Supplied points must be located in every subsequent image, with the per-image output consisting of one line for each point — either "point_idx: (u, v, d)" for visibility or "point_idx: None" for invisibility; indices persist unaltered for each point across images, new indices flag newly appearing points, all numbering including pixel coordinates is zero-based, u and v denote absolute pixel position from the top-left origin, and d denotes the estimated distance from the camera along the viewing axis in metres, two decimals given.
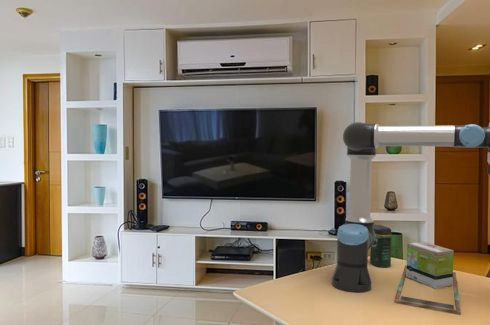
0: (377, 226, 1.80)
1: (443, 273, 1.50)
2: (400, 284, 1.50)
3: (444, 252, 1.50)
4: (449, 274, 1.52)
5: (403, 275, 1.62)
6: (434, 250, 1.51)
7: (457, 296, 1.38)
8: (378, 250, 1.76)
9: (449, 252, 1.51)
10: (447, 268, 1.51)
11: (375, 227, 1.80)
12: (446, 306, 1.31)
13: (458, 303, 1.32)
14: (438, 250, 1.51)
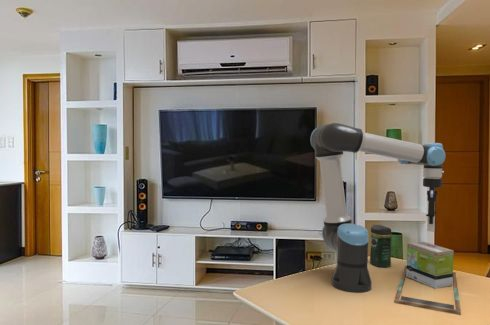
0: (377, 226, 1.80)
1: (443, 273, 1.50)
2: (400, 284, 1.50)
3: (444, 252, 1.50)
4: (449, 274, 1.52)
5: (403, 275, 1.62)
6: (434, 250, 1.51)
7: (457, 296, 1.38)
8: (378, 250, 1.76)
9: (449, 252, 1.51)
10: (447, 268, 1.51)
11: (375, 227, 1.80)
12: (446, 306, 1.31)
13: (458, 303, 1.32)
14: (438, 250, 1.51)
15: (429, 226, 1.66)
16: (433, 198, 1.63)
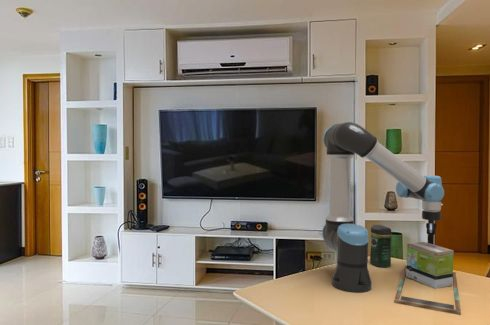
0: (377, 226, 1.80)
1: (443, 273, 1.50)
2: (400, 284, 1.50)
3: (444, 252, 1.50)
4: (449, 274, 1.52)
5: (403, 275, 1.62)
6: (434, 250, 1.51)
7: (457, 296, 1.38)
8: (378, 250, 1.76)
9: (449, 252, 1.51)
10: (447, 268, 1.51)
11: (375, 227, 1.80)
12: (446, 306, 1.31)
13: (458, 303, 1.32)
14: (438, 250, 1.51)
15: None
16: (432, 233, 1.65)
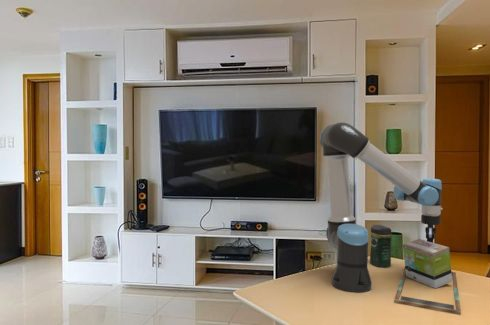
0: (377, 226, 1.80)
1: (441, 271, 1.50)
2: (400, 284, 1.50)
3: (439, 251, 1.49)
4: (447, 271, 1.51)
5: (403, 275, 1.62)
6: (429, 250, 1.50)
7: (457, 296, 1.38)
8: (378, 250, 1.76)
9: (445, 250, 1.50)
10: (444, 266, 1.50)
11: (375, 227, 1.80)
12: (446, 306, 1.31)
13: (458, 303, 1.32)
14: (433, 249, 1.50)
15: None
16: (431, 238, 1.60)
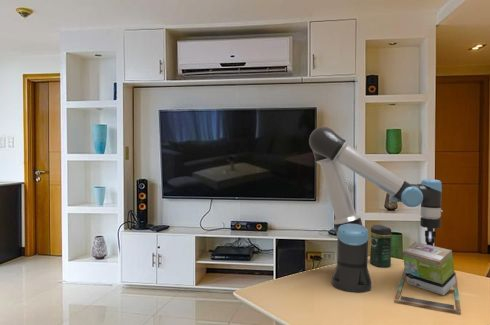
0: (377, 226, 1.80)
1: (447, 277, 1.42)
2: (400, 284, 1.50)
3: (445, 257, 1.41)
4: (452, 274, 1.44)
5: (403, 275, 1.62)
6: (434, 257, 1.41)
7: (457, 296, 1.38)
8: (378, 250, 1.76)
9: (448, 254, 1.42)
10: (449, 270, 1.43)
11: (375, 227, 1.80)
12: (446, 306, 1.31)
13: (458, 303, 1.32)
14: (438, 255, 1.42)
15: None
16: (431, 243, 1.51)
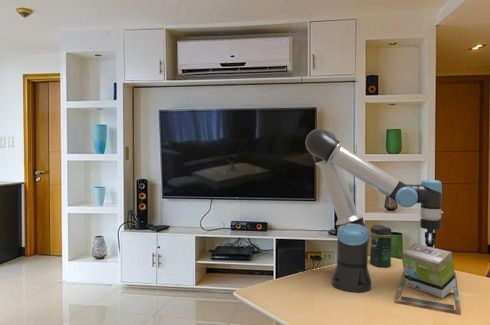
0: (377, 226, 1.80)
1: (447, 279, 1.39)
2: (400, 284, 1.50)
3: (444, 259, 1.38)
4: (452, 276, 1.42)
5: (403, 275, 1.62)
6: (433, 259, 1.39)
7: (457, 296, 1.38)
8: (378, 250, 1.76)
9: (448, 256, 1.40)
10: (449, 272, 1.40)
11: (375, 227, 1.80)
12: (446, 306, 1.31)
13: (458, 303, 1.32)
14: (437, 257, 1.39)
15: None
16: (431, 244, 1.49)
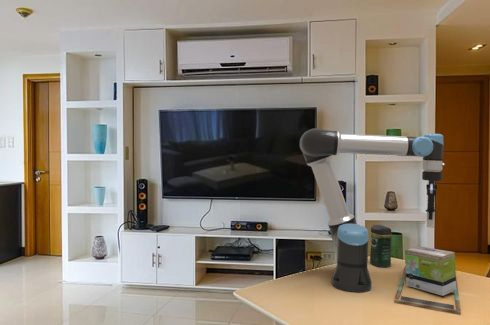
0: (377, 226, 1.80)
1: (448, 277, 1.41)
2: (400, 284, 1.50)
3: (447, 255, 1.41)
4: (453, 278, 1.43)
5: (403, 275, 1.62)
6: (437, 254, 1.42)
7: (457, 296, 1.38)
8: (378, 250, 1.76)
9: (451, 254, 1.43)
10: (451, 271, 1.42)
11: (375, 227, 1.80)
12: (446, 306, 1.31)
13: (458, 303, 1.32)
14: (440, 253, 1.42)
15: (428, 221, 1.60)
16: (433, 194, 1.55)
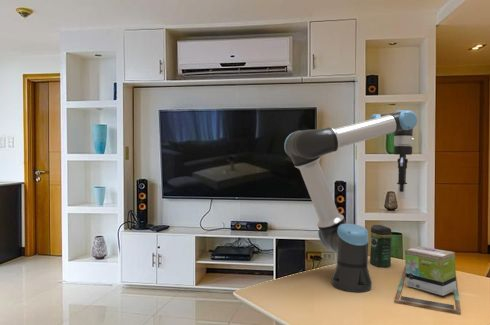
0: (377, 226, 1.80)
1: (448, 277, 1.41)
2: (400, 284, 1.50)
3: (447, 255, 1.41)
4: (453, 278, 1.43)
5: (403, 275, 1.62)
6: (437, 254, 1.42)
7: (457, 296, 1.38)
8: (378, 250, 1.76)
9: (451, 254, 1.43)
10: (451, 271, 1.42)
11: (375, 227, 1.80)
12: (446, 306, 1.31)
13: (458, 303, 1.32)
14: (440, 253, 1.42)
15: (400, 193, 1.70)
16: (403, 167, 1.65)
